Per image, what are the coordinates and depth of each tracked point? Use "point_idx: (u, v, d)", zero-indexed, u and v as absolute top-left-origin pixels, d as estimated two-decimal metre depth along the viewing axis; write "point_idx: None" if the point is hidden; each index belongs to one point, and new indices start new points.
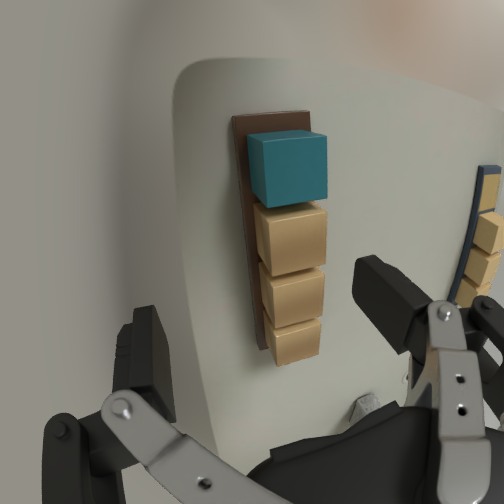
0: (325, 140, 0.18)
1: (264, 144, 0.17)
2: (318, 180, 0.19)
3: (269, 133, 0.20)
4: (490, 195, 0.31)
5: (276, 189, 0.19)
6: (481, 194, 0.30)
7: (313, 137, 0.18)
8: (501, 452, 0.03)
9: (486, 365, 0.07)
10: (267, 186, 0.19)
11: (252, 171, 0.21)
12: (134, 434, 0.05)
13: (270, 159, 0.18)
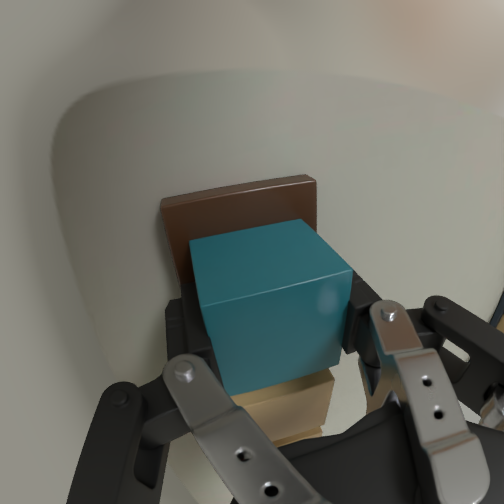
0: (349, 278, 0.08)
1: (207, 312, 0.08)
2: (325, 346, 0.10)
3: (233, 239, 0.11)
4: None
5: (242, 374, 0.09)
6: None
7: (323, 278, 0.08)
8: (497, 457, 0.03)
9: (449, 363, 0.08)
10: (223, 373, 0.09)
11: None
12: (201, 393, 0.06)
13: (224, 335, 0.08)
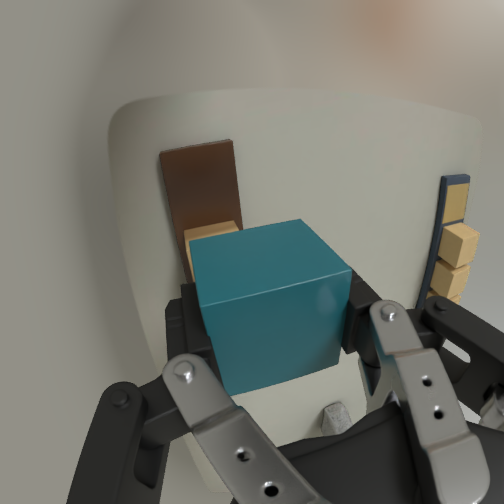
0: (348, 279, 0.09)
1: (207, 311, 0.08)
2: (324, 346, 0.10)
3: (232, 239, 0.11)
4: (457, 206, 0.33)
5: (241, 374, 0.09)
6: (445, 206, 0.32)
7: (322, 278, 0.08)
8: (497, 457, 0.03)
9: (449, 363, 0.08)
10: (222, 373, 0.09)
11: None
12: (201, 393, 0.06)
13: (223, 335, 0.08)
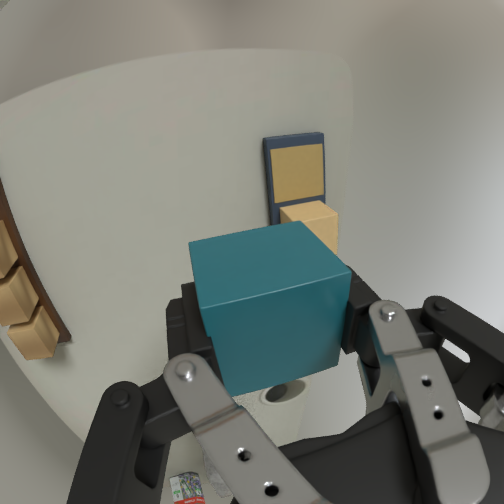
0: (348, 281, 0.09)
1: (207, 313, 0.08)
2: (324, 348, 0.10)
3: (232, 241, 0.11)
4: (304, 177, 0.28)
5: (241, 375, 0.09)
6: (273, 178, 0.28)
7: (322, 280, 0.08)
8: (497, 457, 0.03)
9: (449, 363, 0.08)
10: (222, 374, 0.09)
11: None
12: (202, 393, 0.06)
13: (223, 337, 0.08)
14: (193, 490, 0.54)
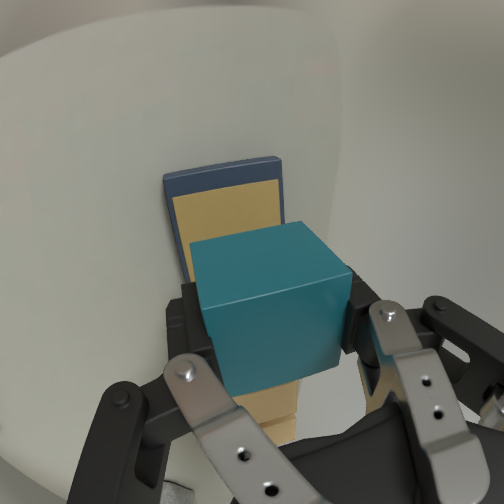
0: (349, 281, 0.09)
1: (208, 314, 0.08)
2: (325, 348, 0.10)
3: (233, 241, 0.11)
4: None
5: (242, 375, 0.09)
6: (183, 248, 0.15)
7: (323, 281, 0.08)
8: (497, 457, 0.03)
9: (449, 363, 0.08)
10: (223, 375, 0.09)
11: None
12: (202, 393, 0.06)
13: (224, 337, 0.08)
14: None
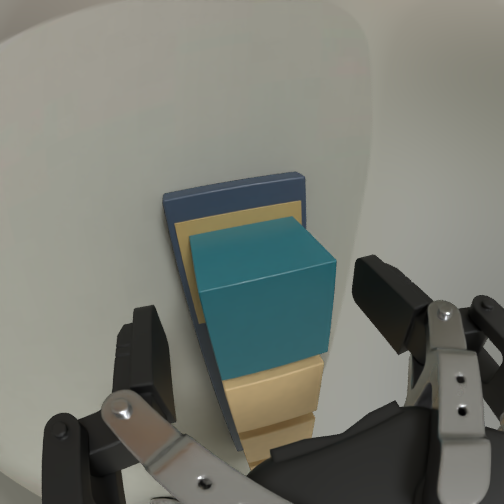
0: (333, 269, 0.09)
1: (205, 296, 0.09)
2: (314, 333, 0.11)
3: (229, 234, 0.12)
4: None
5: (236, 357, 0.10)
6: (188, 281, 0.13)
7: (309, 268, 0.09)
8: (501, 452, 0.03)
9: (486, 365, 0.07)
10: (219, 356, 0.10)
11: None
12: (134, 434, 0.05)
13: (219, 319, 0.09)
14: None
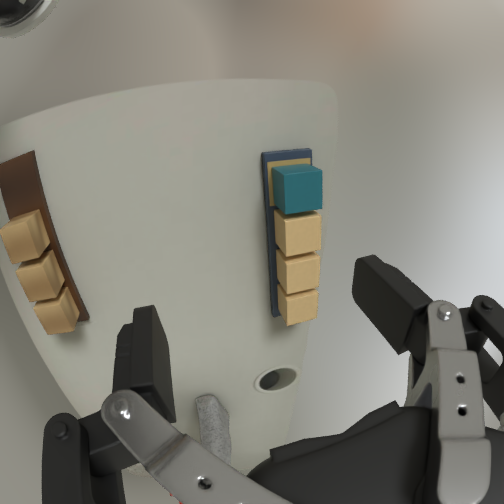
0: (321, 173, 0.31)
1: (285, 176, 0.30)
2: (316, 197, 0.32)
3: (286, 166, 0.33)
4: None
5: (291, 203, 0.31)
6: (268, 185, 0.34)
7: (314, 171, 0.30)
8: (501, 452, 0.03)
9: (486, 365, 0.07)
10: (286, 201, 0.31)
11: (275, 190, 0.34)
12: (134, 434, 0.05)
13: (288, 185, 0.30)
14: None
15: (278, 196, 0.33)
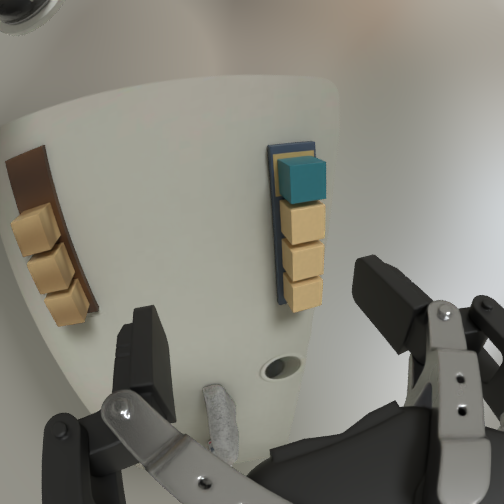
0: (325, 164, 0.32)
1: (291, 167, 0.31)
2: (320, 188, 0.33)
3: (291, 158, 0.34)
4: None
5: (297, 193, 0.33)
6: (274, 177, 0.35)
7: (318, 163, 0.32)
8: (501, 452, 0.03)
9: (486, 365, 0.07)
10: (292, 191, 0.32)
11: (280, 181, 0.35)
12: (134, 434, 0.05)
13: (293, 176, 0.32)
14: None
15: (284, 187, 0.34)
